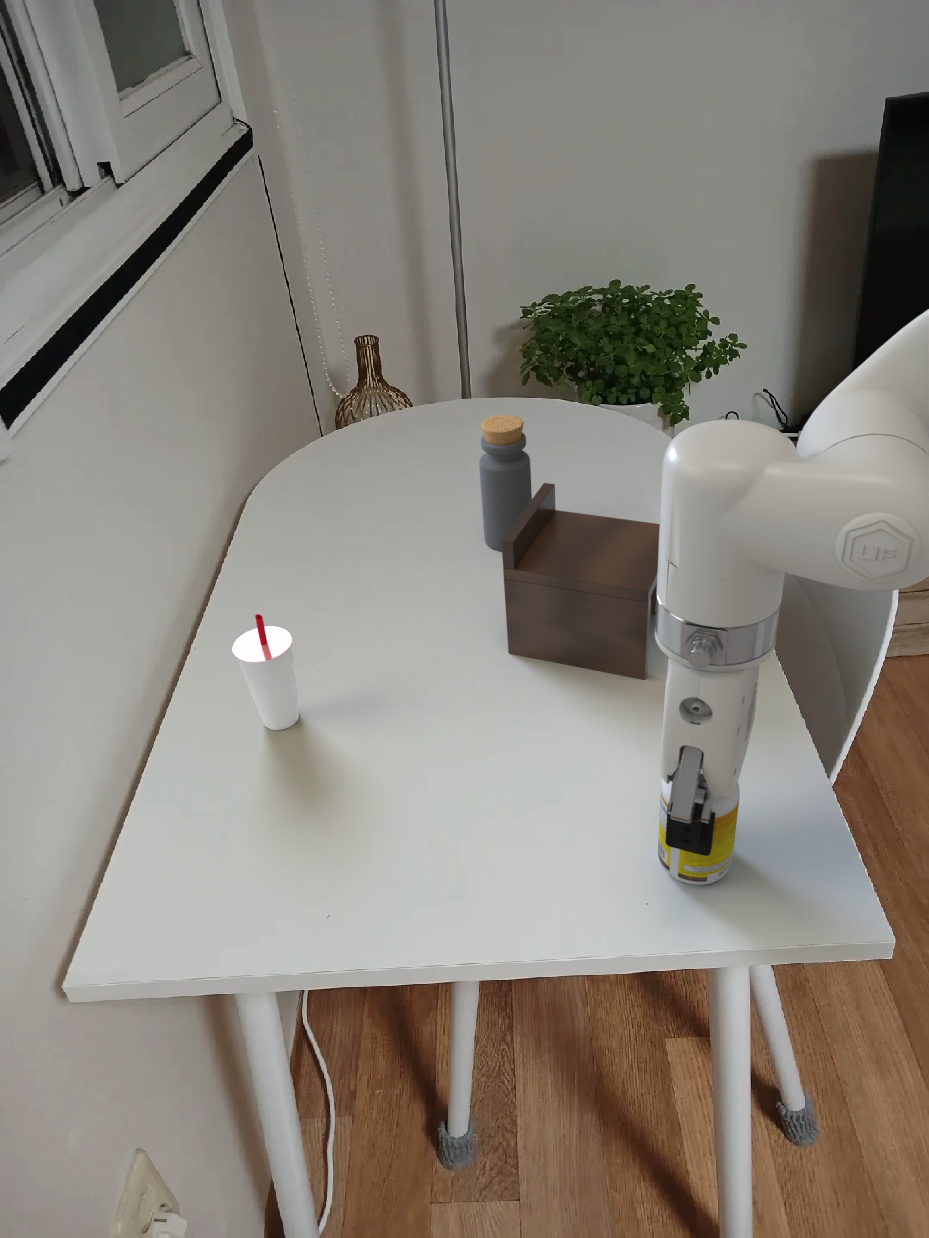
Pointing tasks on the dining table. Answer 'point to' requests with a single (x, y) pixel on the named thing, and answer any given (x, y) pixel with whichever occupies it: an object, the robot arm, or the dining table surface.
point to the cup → (269, 673)
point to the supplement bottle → (720, 858)
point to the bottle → (503, 476)
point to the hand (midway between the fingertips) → (697, 814)
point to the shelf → (580, 587)
